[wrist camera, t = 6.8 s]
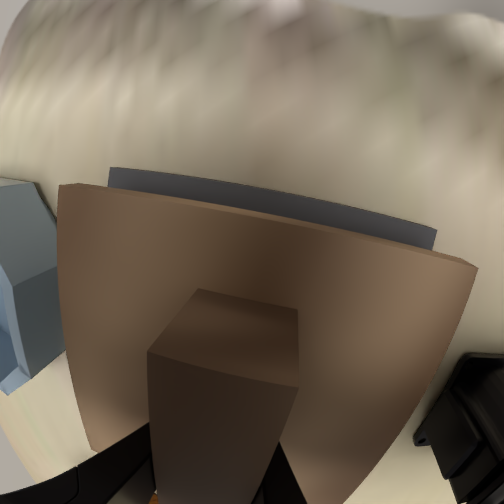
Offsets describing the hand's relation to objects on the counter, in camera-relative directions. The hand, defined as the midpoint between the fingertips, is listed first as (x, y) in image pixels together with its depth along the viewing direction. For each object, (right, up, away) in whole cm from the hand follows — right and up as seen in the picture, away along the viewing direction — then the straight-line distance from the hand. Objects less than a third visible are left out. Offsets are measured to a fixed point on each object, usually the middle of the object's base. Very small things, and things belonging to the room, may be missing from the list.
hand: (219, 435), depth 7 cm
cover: (0, +1, +2) cm, 2 cm away
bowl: (-13, +4, +6) cm, 15 cm away
